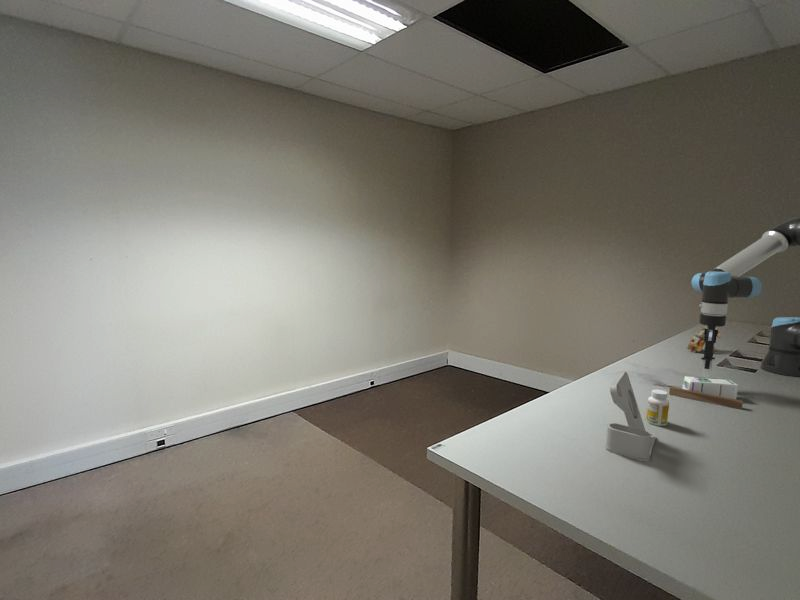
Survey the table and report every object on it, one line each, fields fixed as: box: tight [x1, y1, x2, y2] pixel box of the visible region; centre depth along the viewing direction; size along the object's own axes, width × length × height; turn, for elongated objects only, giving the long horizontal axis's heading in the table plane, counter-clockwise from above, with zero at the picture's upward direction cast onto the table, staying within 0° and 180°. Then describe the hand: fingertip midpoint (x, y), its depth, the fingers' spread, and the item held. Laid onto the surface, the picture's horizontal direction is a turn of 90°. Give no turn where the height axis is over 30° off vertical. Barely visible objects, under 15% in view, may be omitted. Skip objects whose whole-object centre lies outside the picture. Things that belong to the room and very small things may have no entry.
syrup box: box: [682, 375, 739, 399], centre depth 144 cm, size 6×6×14 cm
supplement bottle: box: [645, 389, 670, 427], centre depth 123 cm, size 5×5×10 cm
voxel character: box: [686, 325, 722, 354], centre depth 201 cm, size 11×10×15 cm
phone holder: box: [604, 371, 657, 462], centre depth 109 cm, size 17×10×18 cm, turn 142°
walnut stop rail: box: [668, 386, 744, 410], centre depth 140 cm, size 2×20×2 cm, turn 50°
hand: (705, 376), depth 152 cm, fingers closed
